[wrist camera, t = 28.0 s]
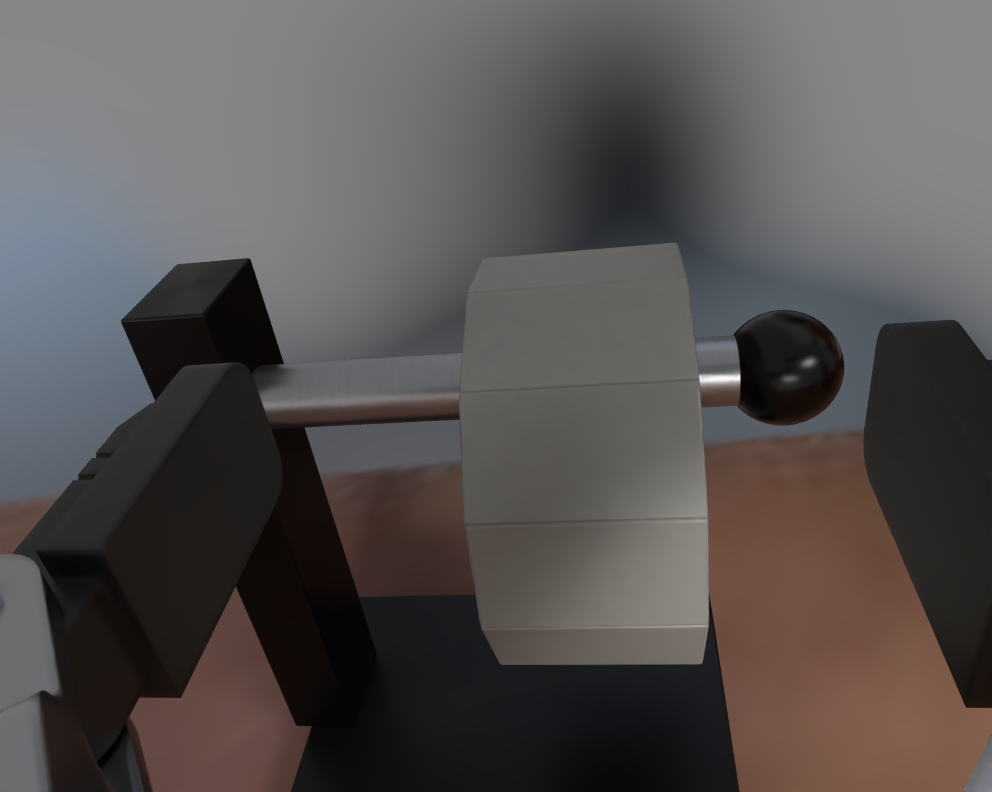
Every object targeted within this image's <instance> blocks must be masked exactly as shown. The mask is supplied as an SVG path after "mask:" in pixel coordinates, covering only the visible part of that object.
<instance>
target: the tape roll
mask: <svg viewBox="0 0 992 792" xmlns="http://www.w3.org/2000/svg"><path fill="white" fill-rule="evenodd" d="M693 327H694V326H693V318H692V310H691V301H690V293H689V284H688V277H687V274H686V271H685V268H684V264H683V261H682V258H681V255H680V251H679V248H678V245H677V243H668V244H655V245H642V246H630V247H618V248H606V249H594V250H581V251H569V252H557V253H544V254H533V255H521V256H508V257H495V258H484V259H483V260H482V262H481V264H480V266H479V268H478V271H477V273H476V275H475V277H474V280H473V282H472V284H471V286H470V288H469V290H468V293H467V298H466V310H465V322H464V334H463V347H462V358H461V370H460V382H459V417H460V442H461V468H462V494H463V519H464V524H465V533H466V540H467V546H468V552H469V558H470V565H471V571H472V577H473V583H474V590H475V596H476V602H477V608H478V615H479V621H480V625H481V629H482V631H483V633H484V635H485V637H486V639H487V640H488V642H489V644H490V646H491V648H492V650H493V652H494V654H495V656H496V657H497V659H498V661H499V663H500V664H502V665H620V664H702V662H703V657H704V651H705V645H706V639H707V633H708V627H709V622H708V621H709V558H708V503H707V486H706V470H705V454H704V438H703V422H702V406H701V390H700V382H699V380H700V377H699V368H698V360H697V352H696V343H695V335H694V328H693Z"/></svg>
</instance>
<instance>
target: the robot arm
mask: <svg viewBox="0 0 992 792" xmlns="http://www.w3.org/2000/svg"><path fill="white" fill-rule="evenodd" d="M96 455H97V456H96V458H92V459H91V460H90V461H89V462H88V463H87V465H86V466H85V467H84V468H83V469H82V471H81V472H80V473H79V474H78V476H79V479H78V480H74V481H73V482H72V483H71V484H70V485H69V486H68V488H67V489H66V490H65V491H64V492H63V494H62V495H61V496H60V497H59V498H58V500H57V501H56V502H55V503H54V504H53V506H52V507H51V508H50V509H49V510H48V512H47V513H46V514H45V515H44V516H43V518H42V519H41V520H40V521H39V522H38V524H37V525H36V526H35V527H34V528H33V530H32V531H31V532H30V533H29V534H28V536H27V537H26V538H25V539H24V541H23V542H22V543H21V544H20V545H19V547H18V548H17V549H16V550H15V551H14V553H13V554H0V792H153V790H152V786H151V782H150V778H149V774H148V770H147V766H146V762H145V759H144V755H143V751H142V747H141V743H140V739H139V735H138V732H137V730H136V727H135V726H134V724H133V722H132V721H131V719H130V717H129V716H130V714H131V712H132V710H133V708H134V706H135V704H136V703H137V701H138V699H139V697H145V698H181V696H182V694H183V692H184V690H185V688H186V686H187V684H188V682H189V680H190V678H191V676H192V674H193V672H194V670H195V668H196V666H197V664H198V662H199V660H200V658H201V656H202V653H203V651H204V649H205V647H206V645H207V643H208V641H209V639H210V637H211V635H212V633H213V631H214V629H215V627H216V625H217V623H218V621H219V619H220V617H221V615H222V613H223V611H224V609H225V607H226V605H227V603H228V601H229V599H230V597H231V594H232V592H233V590H234V588H235V586H236V584H237V582H238V580H239V578H240V576H241V574H242V572H243V570H244V568H245V566H246V564H247V562H248V560H249V558H250V556H251V554H252V552H253V550H254V548H255V546H256V544H257V542H258V540H259V538H260V536H261V533H262V531H263V529H264V527H265V525H266V523H267V521H268V519H269V517H270V515H271V513H272V511H273V509H274V507H275V505H276V503H277V501H278V498H279V496H280V492H281V487H282V475H283V473H282V462H281V456H280V453H279V450H278V447H277V444H276V441H275V438H274V435H273V433H272V430H271V427H270V424H269V421H268V418H267V415H266V412H265V409H264V407H263V404H262V401H261V398H260V395H259V392H258V389H257V386H256V384H255V381H254V378H253V376H252V374H251V372H250V370H249V369H248V368H247V367H246V366H245V365H244V364H242V363H238V362H237V363H221V364H205V365H189V366H185V367H183V368H182V369H181V370H180V371H179V372H178V373H177V374H176V376H175V377H174V378H173V379H172V381H171V382H170V383H169V384H168V386H167V387H166V388H165V389H164V391H163V392H162V393H161V394H160V396H159V397H158V398H157V399H156V401H155V402H154V403H153V404H149V405H148V406H147V407H145V408H144V409H142V410H141V411H140V412H138V413H137V414H135V415H134V416H133V417H131V418H130V419H128V420H127V421H126V422H124V423H123V424H121V425H120V426H118V427H117V428H116V430H115V431H114V432H113V433H112V435H111V436H110V437H109V438H108V439H107V441H106V442H105V443H104V444H103V445H102V446H101V448H100V449H99V450H98V451H97V453H96ZM864 457H865V465H866V470H867V474H868V478H869V481H870V483H871V486H872V488H873V491H874V493H875V495H876V498H877V500H878V502H879V505H880V507H881V509H882V512H883V514H884V516H885V519H886V521H887V523H888V526H889V528H890V530H891V533H892V535H893V537H894V540H895V542H896V544H897V547H898V549H899V552H900V554H901V556H902V559H903V561H904V563H905V566H906V568H907V570H908V573H909V575H910V577H911V580H912V582H913V584H914V587H915V589H916V591H917V594H918V596H919V598H920V601H921V603H922V605H923V608H924V610H925V612H926V615H927V617H928V620H929V622H930V624H931V627H932V629H933V631H934V634H935V636H936V638H937V641H938V643H939V645H940V648H941V650H942V652H943V655H944V657H945V659H946V662H947V664H948V666H949V669H950V671H951V673H952V676H953V678H954V681H955V683H956V685H957V688H958V690H959V692H960V695H961V697H962V699H963V702H964V704H965V706H966V708H992V360H987V359H986V358H985V357H984V355H983V354H982V353H981V351H980V350H979V349H978V347H977V346H976V345H975V344H974V342H973V341H972V340H971V338H970V337H969V335H968V334H967V333H966V332H965V330H964V329H963V328H962V326H961V325H960V324H959V323H958V322H956V321H955V320H943V321H927V322H911V323H895V324H886V325H884V326H883V327H882V328H881V330H880V332H879V335H878V339H877V344H876V350H875V358H874V364H873V371H872V379H871V386H870V394H869V400H868V407H867V414H866V421H865V428H864ZM964 792H992V733H991V735H990V738H989V740H988V742H987V744H986V746H985V748H984V750H983V752H982V754H981V756H980V758H979V760H978V762H977V765H976V767H975V769H974V771H973V773H972V775H971V777H970V779H969V781H968V783H967V785H966V787H965V790H964Z"/></svg>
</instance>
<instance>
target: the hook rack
mask: <svg viewBox="0 0 992 792" xmlns="http://www.w3.org/2000/svg"><path fill="white" fill-rule="evenodd" d="M121 323H122V325H123V327H124V330H125V332H126V335H127V337H128V339H129V341H130V344H131V346H132V348H133V350H134V353H135V355H136V358H137V360H138V362H139V364H140V367H141V369H142V371H143V374H144V376H145V378H146V380H147V383H148V385H149V387H150V390H151V392H152V394H153V397H154V399H155V401H156V399H157V398H158V397H159V396H160V394H161V393H162V392H163V391H164V389H165V388H166V387H167V386H168V384H169V383H170V382H171V381H172V379H173V378H174V377H175V376H176V374H177V373H178V372H179V371H180V370H181V369H182V368H183V367H185V366H189V365H205V364H221V363H237V362H238V363H242V364H244V365H245V366H246V367H247V368H248V369H249V370H250V372H251V374H252V376H253V378H254V381H255V384H256V386H257V389H258V392H259V395H260V398H261V401H262V404H263V407H264V409H265V412H266V415H267V418H268V421H269V424H270V427H271V430H272V433H273V435H274V438H275V441H276V444H277V447H278V450H279V453H280V456H281V462H282V473H283V475H282V487H281V492H280V496H279V498H278V501H277V503H276V505H275V507H274V509H273V511H272V513H271V515H270V517H269V519H268V521H267V523H266V525H265V527H264V529H263V531H262V533H261V536H260V538H259V540H258V542H257V544H256V546H255V548H254V550H253V552H252V554H251V556H250V558H249V560H248V562H247V564H246V566H245V568H244V570H243V572H242V574H241V576H240V578H239V580H238V582H237V584H236V588H237V590H238V593H239V595H240V597H241V599H242V602H243V604H244V606H245V609H246V611H247V613H248V616H249V618H250V620H251V622H252V625H253V627H254V629H255V632H256V634H257V636H258V639H259V641H260V643H261V646H262V648H263V650H264V652H265V655H266V657H267V659H268V662H269V664H270V666H271V669H272V671H273V673H274V675H275V678H276V680H277V682H278V685H279V687H280V689H281V692H282V694H283V696H284V699H285V701H286V703H287V705H288V708H289V710H290V712H291V715H292V717H293V719H294V722H295V724H296V725H297V726H312V728H311V731H310V734H309V737H308V740H307V743H306V746H305V749H304V752H303V755H302V759H301V762H300V765H299V768H298V771H297V774H296V777H295V780H294V783H293V786H292V790H291V792H739V786H738V779H737V773H736V766H735V760H734V753H733V746H732V740H731V733H730V727H729V720H728V714H727V707H726V700H725V694H724V687H723V681H722V674H721V667H720V661H719V654H718V648H717V641H716V634H715V628H714V621H713V615H712V608H711V602H710V595H709V621H708V622H709V627H708V633H707V639H706V645H705V651H704V657H703V662H702V664H620V665H502V664H500V663H499V661H498V659H497V657H496V656H495V654H494V652H493V650H492V648H491V646H490V644H489V642H488V640H487V639H486V637H485V635H484V633H483V631H482V629H481V625H480V621H479V615H478V608H477V602H476V596H475V595H463V596H399V597H359V596H358V593H357V590H356V587H355V584H354V581H353V578H352V574H351V571H350V568H349V565H348V562H347V559H346V556H345V553H344V549H343V546H342V543H341V540H340V537H339V534H338V531H337V528H336V525H335V521H334V518H333V515H332V512H331V509H330V506H329V503H328V500H327V496H326V493H325V490H324V487H323V484H322V481H321V478H320V475H319V472H318V468H317V465H316V462H315V459H314V456H313V453H312V450H311V447H310V444H309V441H308V437H307V434H306V431H305V428H304V427H321V426H322V427H323V426H341V425H361V424H382V423H402V422H421V421H441V420H460V417H459V382H460V370H461V358H462V353H451V354H434V355H418V356H402V357H388V358H387V357H386V358H371V359H355V360H340V361H323V362H308V363H293V364H284V362H283V359H282V356H281V353H280V350H279V347H278V344H277V341H276V338H275V334H274V331H273V328H272V325H271V322H270V319H269V316H268V313H267V309H266V306H265V303H264V300H263V297H262V294H261V291H260V288H259V285H258V281H257V279H256V275H255V272H254V269H253V266H252V263H251V260H250V259H249V258H246V259H235V260H222V261H211V262H200V263H189V264H188V263H187V264H178V265H176V266H175V267H174V268H173V269H172V270H171V271H170V272H169V273H168V274H167V275H166V276H165V277H164V278H163V279H162V280H161V281H160V282H159V283H158V284H157V285H156V286H155V287H154V288H153V289H152V290H151V291H150V292H149V293H148V294H147V295H146V296H145V297H144V298H143V299H142V300H141V301H140V302H139V303H138V304H137V305H136V306H135V307H134V308H133V309H132V310H131V311H130V312H129V313H128V314H127V315H126V316H125V317H124V318H123V319H122V320H121ZM695 343H696V352H697V360H698V368H699V377H700V380H699V382H700V390H701V406H702V407H720V406H738V408H739V409H741V410H742V411H743V412H744V413H746V414H747V415H748V416H750V417H752V418H754V419H756V420H758V421H760V422H763V423H767V424H771V425H794V424H798V423H801V422H805V421H808V420H810V419H811V418H813V417H815V416H817V415H818V414H820V413H821V412H822V411H824V410H825V409H826V408H827V407H828V406H829V405H830V404H831V402H832V401H833V400H834V398H835V397H836V395H837V393H838V391H839V389H840V387H841V384H842V380H843V375H844V360H843V354H842V351H841V348H840V345H839V343H838V341H837V339H836V338H835V336H834V335H833V333H832V332H831V331H830V330H829V329H828V328H827V327H826V326H825V325H824V324H822V323H821V322H820V321H818V320H817V319H815V318H814V317H811V316H809V315H807V314H804V313H801V312H797V311H791V310H778V311H771V312H767V313H764V314H761V315H758V316H756V317H754V318H752V319H751V320H749V321H748V322H746V323H745V324H743V325H742V326H741V327H740V328H739V329H738V330H737V331H736V332H735V334H734V335H733V336H719V337H702V338H695Z"/></svg>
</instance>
